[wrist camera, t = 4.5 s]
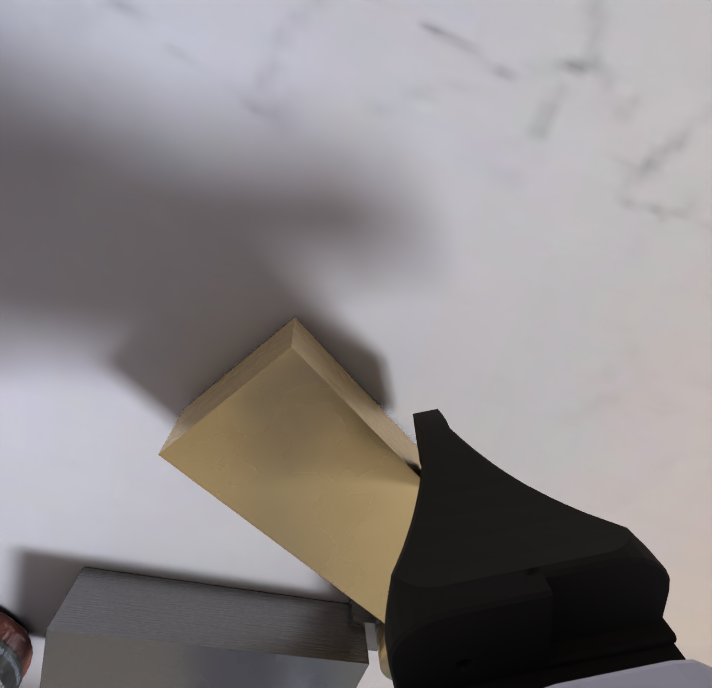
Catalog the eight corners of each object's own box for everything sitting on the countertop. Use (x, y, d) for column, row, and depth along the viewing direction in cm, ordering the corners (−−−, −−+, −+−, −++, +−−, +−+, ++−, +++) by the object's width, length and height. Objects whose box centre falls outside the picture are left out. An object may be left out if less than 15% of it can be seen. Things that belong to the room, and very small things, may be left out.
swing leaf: (397, 637, 19) (409, 697, 17) (139, 446, 14) (105, 497, 12) (523, 560, 18) (553, 613, 16) (294, 317, 13) (291, 346, 10)
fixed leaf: (389, 677, 21) (403, 771, 18) (71, 645, 18) (15, 753, 14) (444, 584, 19) (473, 672, 15) (89, 527, 15) (28, 623, 12)
